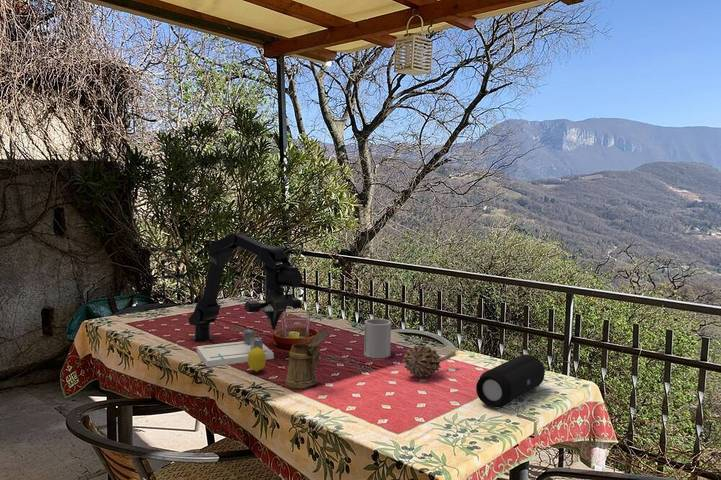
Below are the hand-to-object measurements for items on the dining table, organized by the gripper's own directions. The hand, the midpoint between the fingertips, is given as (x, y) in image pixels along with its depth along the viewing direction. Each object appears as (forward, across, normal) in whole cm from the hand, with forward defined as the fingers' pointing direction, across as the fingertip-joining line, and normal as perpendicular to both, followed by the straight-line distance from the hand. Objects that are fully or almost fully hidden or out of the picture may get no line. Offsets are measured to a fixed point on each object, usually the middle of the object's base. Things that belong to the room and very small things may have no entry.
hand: (273, 329), depth 181 cm
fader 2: (+7, -6, 0) cm, 9 cm away
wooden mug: (+9, 0, -31) cm, 32 cm away
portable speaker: (+9, +49, -63) cm, 80 cm away
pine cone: (+9, +39, -38) cm, 55 cm away
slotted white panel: (+9, -12, +6) cm, 16 cm away
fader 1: (+7, -5, +12) cm, 15 cm away
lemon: (+9, -10, -14) cm, 20 cm away
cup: (+9, +33, -14) cm, 37 cm away
